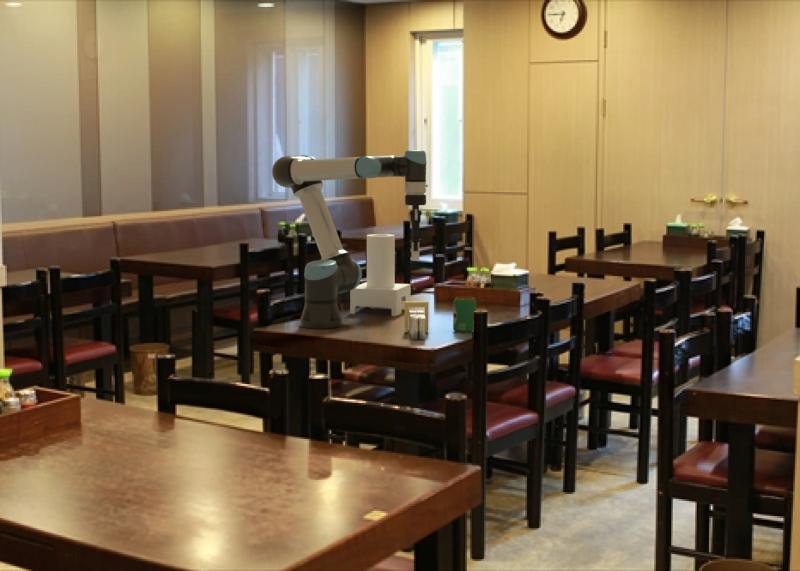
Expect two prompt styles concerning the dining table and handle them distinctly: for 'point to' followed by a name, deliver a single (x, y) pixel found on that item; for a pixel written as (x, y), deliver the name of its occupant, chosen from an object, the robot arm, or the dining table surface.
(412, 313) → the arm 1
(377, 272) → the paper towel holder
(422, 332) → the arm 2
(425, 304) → the tan flat upright block
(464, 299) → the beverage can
